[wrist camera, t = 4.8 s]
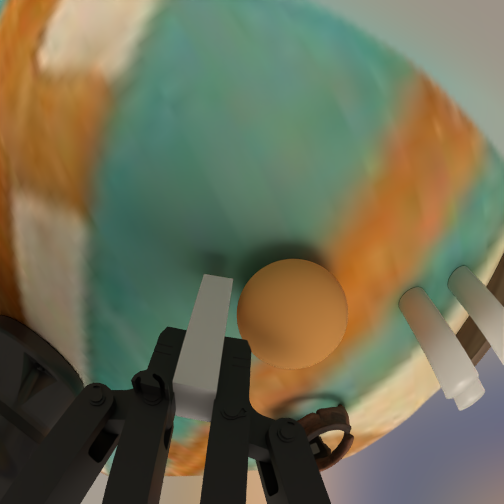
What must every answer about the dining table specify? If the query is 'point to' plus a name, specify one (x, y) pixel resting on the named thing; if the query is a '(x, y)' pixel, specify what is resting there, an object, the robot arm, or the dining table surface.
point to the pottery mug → (322, 423)
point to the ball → (292, 313)
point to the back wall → (470, 334)
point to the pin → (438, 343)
